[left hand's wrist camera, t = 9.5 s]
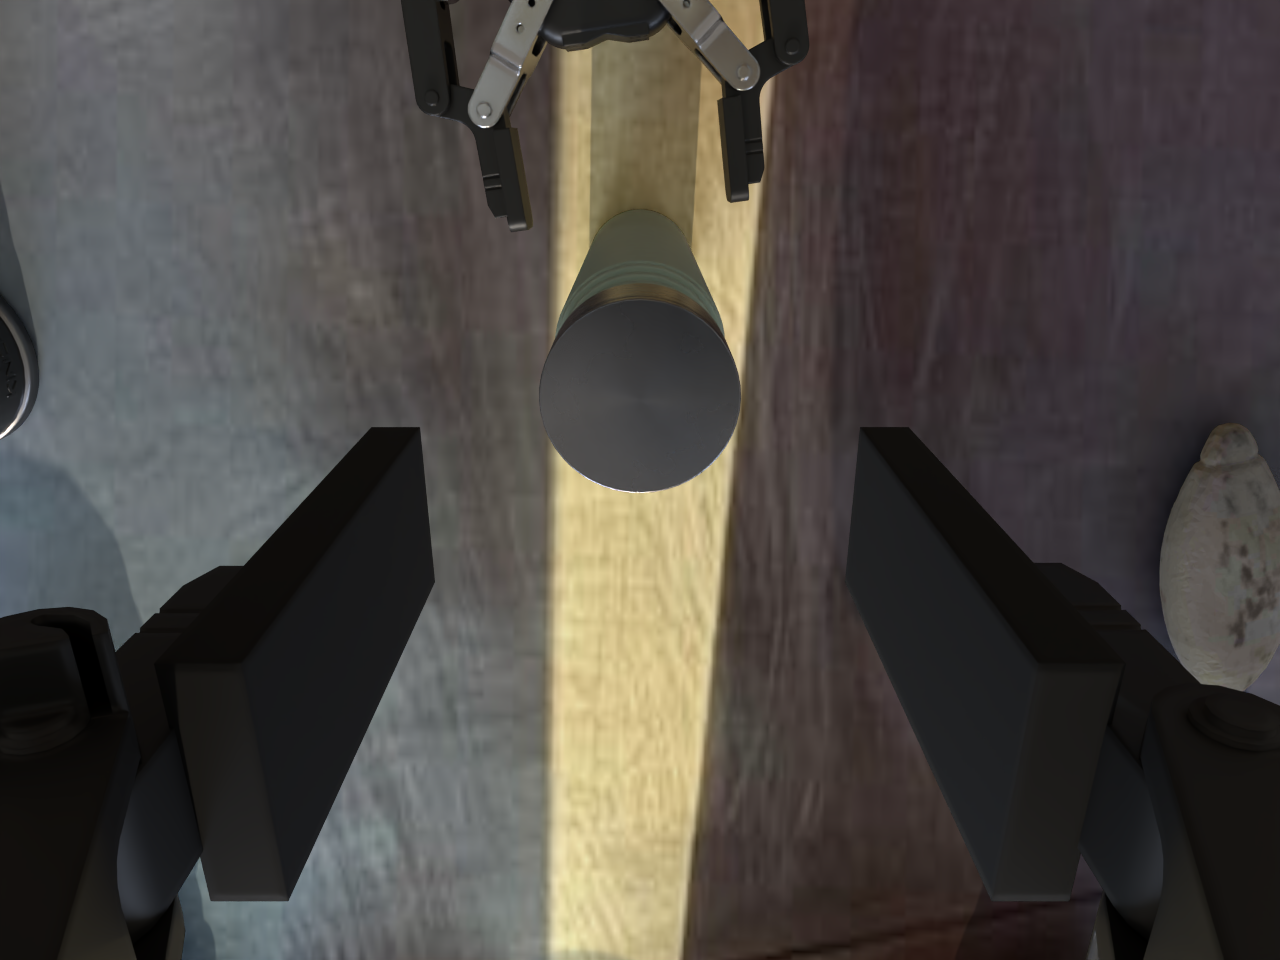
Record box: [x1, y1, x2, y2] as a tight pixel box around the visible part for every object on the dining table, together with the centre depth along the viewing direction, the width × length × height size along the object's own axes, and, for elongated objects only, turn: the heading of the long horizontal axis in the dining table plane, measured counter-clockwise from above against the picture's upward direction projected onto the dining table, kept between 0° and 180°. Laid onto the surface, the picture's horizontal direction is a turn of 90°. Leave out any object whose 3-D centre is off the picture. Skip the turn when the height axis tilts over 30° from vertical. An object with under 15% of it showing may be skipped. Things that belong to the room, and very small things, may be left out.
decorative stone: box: [1159, 423, 1280, 691], centre depth 45 cm, size 6×16×3 cm, turn 13°
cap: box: [539, 283, 741, 493], centre depth 21 cm, size 4×5×2 cm
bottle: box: [555, 209, 725, 338], centre depth 31 cm, size 5×5×23 cm
